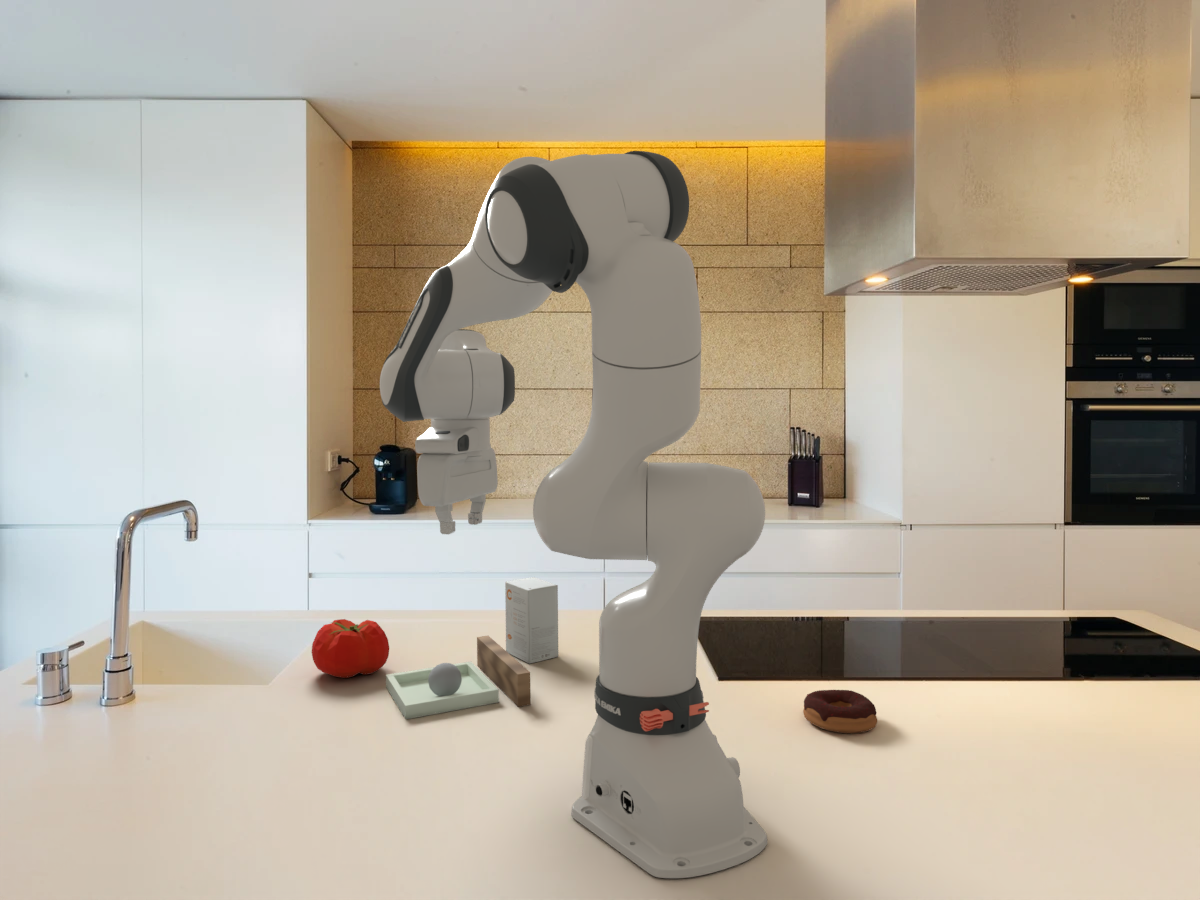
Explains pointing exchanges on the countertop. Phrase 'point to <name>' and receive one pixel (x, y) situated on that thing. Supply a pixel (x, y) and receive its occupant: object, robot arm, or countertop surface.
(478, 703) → the dish
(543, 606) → the small box
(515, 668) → the rail
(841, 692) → the donut
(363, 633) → the tomato
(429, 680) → the ball
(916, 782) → the countertop surface
